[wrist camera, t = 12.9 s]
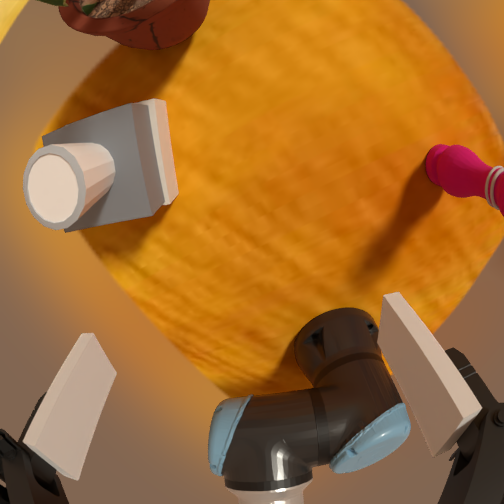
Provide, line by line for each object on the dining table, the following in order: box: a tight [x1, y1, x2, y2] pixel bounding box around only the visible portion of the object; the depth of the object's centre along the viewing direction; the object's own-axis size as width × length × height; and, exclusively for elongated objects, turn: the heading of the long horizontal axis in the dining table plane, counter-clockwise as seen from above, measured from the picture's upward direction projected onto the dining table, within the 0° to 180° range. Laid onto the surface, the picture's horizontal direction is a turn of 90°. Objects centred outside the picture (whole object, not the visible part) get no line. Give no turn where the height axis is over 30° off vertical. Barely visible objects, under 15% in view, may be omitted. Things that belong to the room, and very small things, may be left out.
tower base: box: [65, 98, 179, 205], centre depth 30 cm, size 12×12×5 cm
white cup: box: [23, 143, 115, 230], centre depth 20 cm, size 7×7×7 cm
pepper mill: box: [426, 144, 504, 216], centre depth 24 cm, size 7×7×20 cm
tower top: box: [42, 103, 165, 233], centre depth 26 cm, size 11×11×5 cm
